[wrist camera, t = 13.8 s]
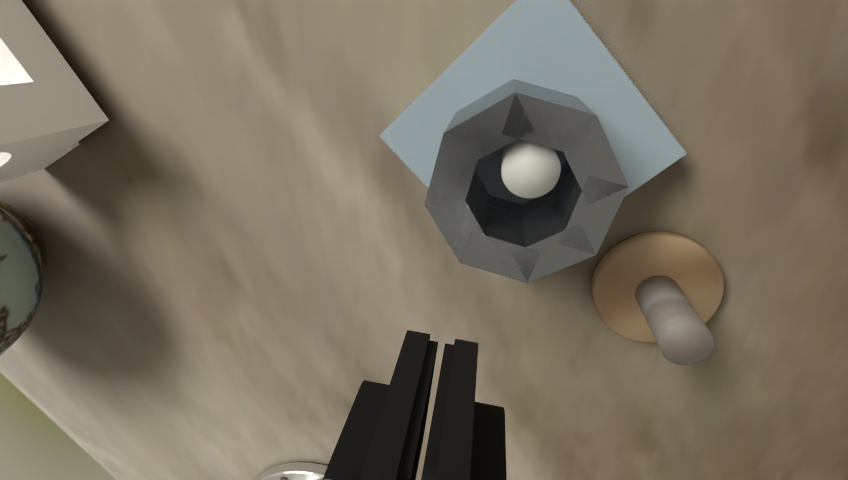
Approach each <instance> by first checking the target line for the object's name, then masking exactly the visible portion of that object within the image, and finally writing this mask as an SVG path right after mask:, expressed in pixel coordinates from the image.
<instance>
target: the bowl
mask: <svg viewBox="0 0 848 480" xmlns="http://www.w3.org/2000/svg"><path fill="white" fill-rule="evenodd" d="M45 264H46V253H45V247H44V244H43V242H42V240H41V237H40V235H39V234H38V232H37V231H36V229H35V228H34V226H33V225H32V224H31V223H30V222H29V221H28V220H27V219H26V218H25V217H24V216H23V215H22V214H20V213H19V212H18V211H16V210H15V209H13V208H12V207H10V206H9V205H6V204H3V203H1V202H0V355H1V354H2V353H3V352H5V351H6V350H7V349H8V348H9V347H10V346H11V345H12V344H13V343H14V342H15V341H16V340H17V339H18V338H19V337H20V336H21V334H22V333H23V332H24V331H25V329H26V328H27V326H28V325H29V323H30V322H31V320H32V318H33V316H34V314H35V312H36V310H37V308H38V305H39V302H40V298H41V293H42V271H43V269H44V266H45Z"/></svg>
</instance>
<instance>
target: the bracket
mask: <svg viewBox="0 0 848 480" xmlns="http://www.w3.org/2000/svg"><path fill="white" fill-rule="evenodd" d="M107 121H109V119H108V118H107V117H106V115H105V114H104V113H103V111H102V110H101V108H100V107H99V106H98V104H97V103H96V102H95V100H94V99H93V97H92V96H91V95H90V93H89V92H88V91H87V89H86V88H85V86H84V85H83V84H82V82H81V81H80V80H79V78H78V77H77V75H76V74H75V73H74V71H73V70H72V69H71V67H70V66H69V64H68V63H67V62H66V60H65V59H64V58H63V56H62V55H61V53H60V52H59V51H58V49H57V48H56V47H55V45H54V44H53V42H52V41H51V40H50V38H49V37H48V36H47V34H46V33H45V32H44V30H43V29H42V27H41V26H40V25H39V23H38V22H37V21H36V19H35V18H34V16H33V15H32V14H31V12H30V11H29V10H28V8H27V7H26V5H25V4H24V3H23V1H22V0H0V182H1V181H5V180H8V179H11V178H15V177H18V176H21V175H25V174H28V173H32V172H35V171H38V170H42V169H45V168H46V167H47V166H49V165H50V164H52V163H53V162H55V161H56V160H58V159H59V158H61V157H62V156H64V155H65V154H67V153H68V152H69V151H71V150H72V149H74V148H75V147H77V146H78V145H80V144H79V143H78V141H80V140H81V139H83V138H84V137H85V136H87V135H88V134H90V133H91V132H93V131H94V130H96V129H97V128H99V127H100V126H101V125H103V124H104V123H106V122H107Z"/></svg>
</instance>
